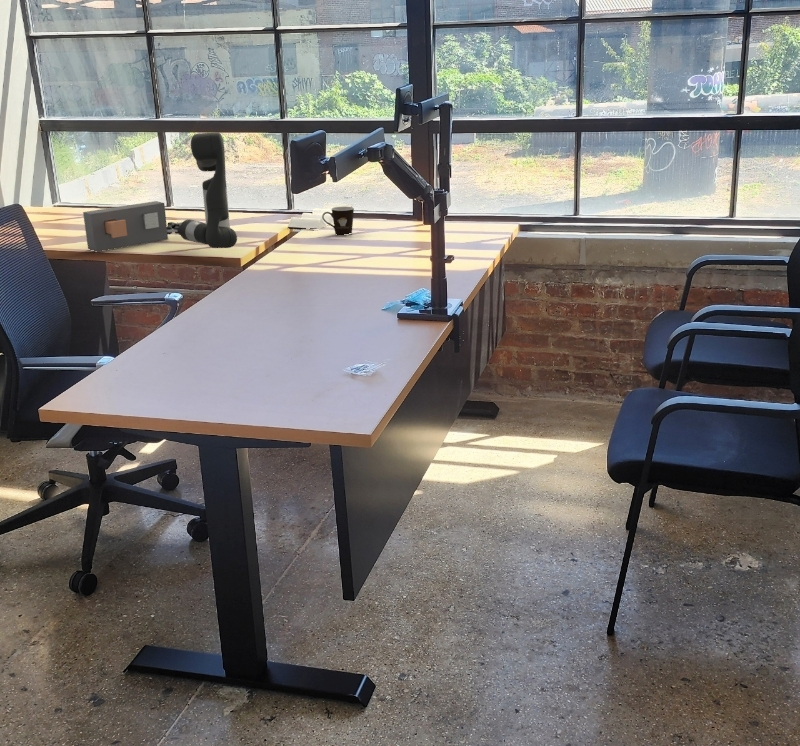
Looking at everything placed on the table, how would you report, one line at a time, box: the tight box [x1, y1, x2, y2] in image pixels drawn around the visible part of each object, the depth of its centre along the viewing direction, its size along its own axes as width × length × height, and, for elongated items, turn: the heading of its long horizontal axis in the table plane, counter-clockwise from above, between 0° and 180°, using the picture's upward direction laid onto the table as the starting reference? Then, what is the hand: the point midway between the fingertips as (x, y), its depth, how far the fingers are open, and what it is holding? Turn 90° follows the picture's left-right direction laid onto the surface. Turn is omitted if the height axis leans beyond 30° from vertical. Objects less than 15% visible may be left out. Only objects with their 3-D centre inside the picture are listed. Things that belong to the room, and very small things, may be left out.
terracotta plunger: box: [104, 220, 127, 238], centre depth 335 cm, size 10×6×6 cm, turn 44°
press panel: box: [82, 200, 169, 252], centre depth 344 cm, size 6×30×14 cm, turn 134°
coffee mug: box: [322, 206, 355, 236], centre depth 357 cm, size 12×9×10 cm
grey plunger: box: [143, 212, 159, 229], centre depth 349 cm, size 10×6×6 cm, turn 44°
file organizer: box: [287, 202, 353, 231], centre depth 382 cm, size 13×35×5 cm, turn 159°
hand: (169, 225), depth 337 cm, fingers closed
